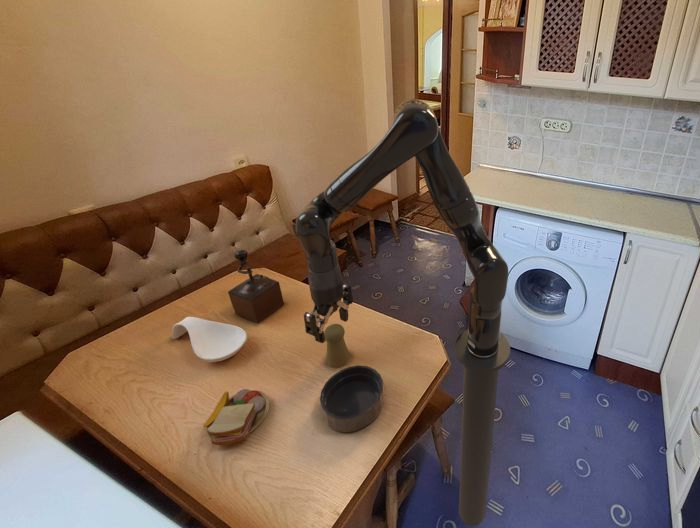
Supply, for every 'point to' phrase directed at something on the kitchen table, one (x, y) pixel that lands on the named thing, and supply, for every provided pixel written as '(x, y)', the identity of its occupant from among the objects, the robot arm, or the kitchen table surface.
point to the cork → (336, 346)
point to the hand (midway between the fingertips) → (333, 330)
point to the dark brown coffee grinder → (255, 294)
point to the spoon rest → (211, 338)
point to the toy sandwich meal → (236, 416)
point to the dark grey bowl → (352, 398)
